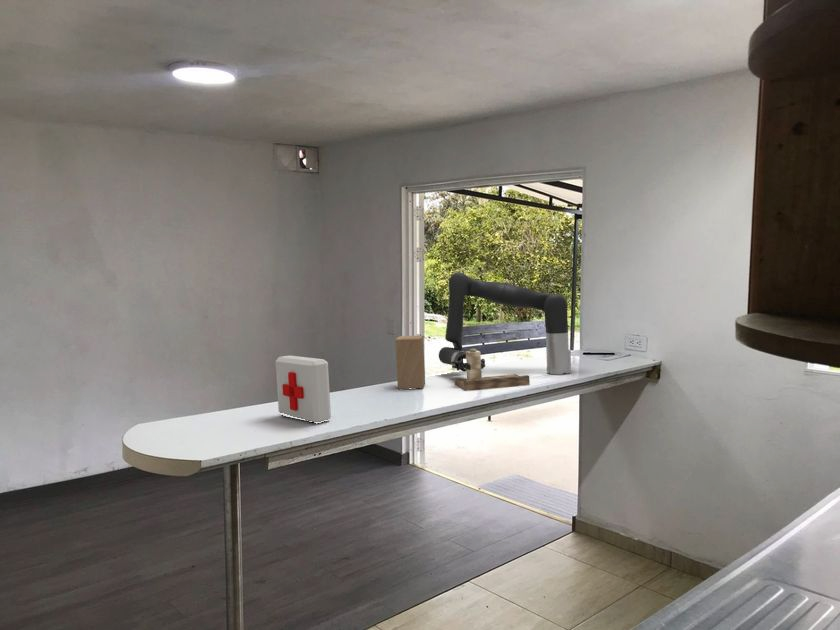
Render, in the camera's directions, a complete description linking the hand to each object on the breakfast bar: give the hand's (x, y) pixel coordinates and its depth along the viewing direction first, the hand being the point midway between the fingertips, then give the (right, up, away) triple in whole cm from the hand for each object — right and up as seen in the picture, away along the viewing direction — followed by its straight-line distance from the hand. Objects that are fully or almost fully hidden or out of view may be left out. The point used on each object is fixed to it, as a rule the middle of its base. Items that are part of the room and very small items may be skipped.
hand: (475, 366), depth 252 cm
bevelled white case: (-59, -14, -37) cm, 71 cm away
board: (+7, -8, +7) cm, 13 cm away
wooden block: (-25, -9, +10) cm, 28 cm away
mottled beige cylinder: (0, -6, +3) cm, 7 cm away
